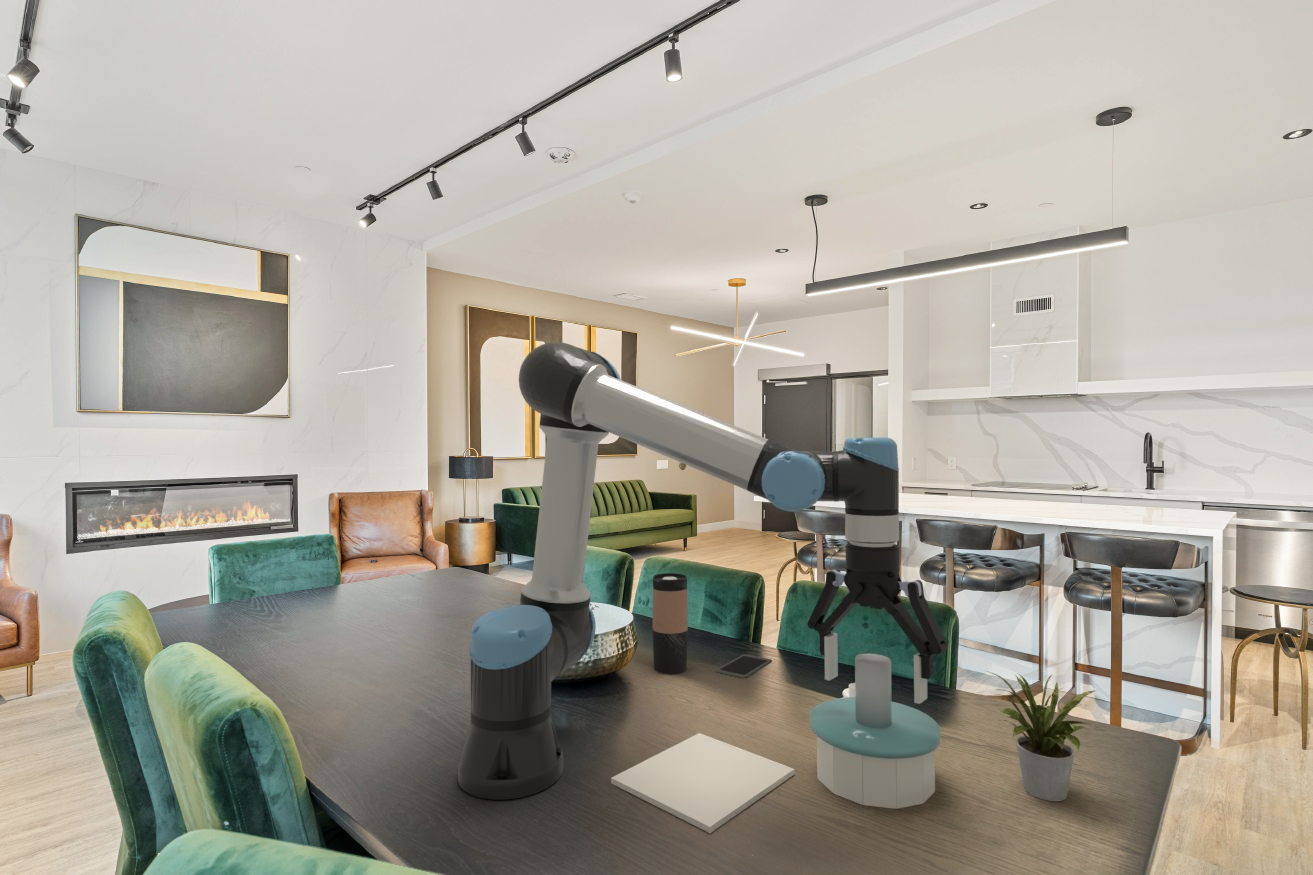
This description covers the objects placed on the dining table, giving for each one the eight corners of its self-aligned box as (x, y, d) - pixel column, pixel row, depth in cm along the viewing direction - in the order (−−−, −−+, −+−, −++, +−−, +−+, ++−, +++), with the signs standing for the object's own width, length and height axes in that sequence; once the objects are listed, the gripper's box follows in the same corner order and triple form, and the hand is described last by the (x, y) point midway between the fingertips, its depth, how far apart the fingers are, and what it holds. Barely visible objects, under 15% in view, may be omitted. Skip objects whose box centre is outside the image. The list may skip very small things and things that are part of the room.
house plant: (962, 788, 93) (961, 672, 93) (996, 755, 103) (995, 650, 103) (1079, 830, 83) (1078, 699, 83) (1105, 789, 93) (1104, 672, 93)
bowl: (905, 821, 85) (905, 766, 85) (796, 779, 96) (796, 730, 96) (950, 775, 97) (949, 727, 97) (848, 742, 107) (848, 699, 108)
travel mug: (688, 663, 147) (688, 573, 147) (687, 675, 139) (686, 580, 139) (654, 662, 147) (654, 572, 148) (650, 674, 140) (650, 579, 140)
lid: (910, 772, 84) (909, 691, 84) (786, 730, 96) (786, 660, 96) (959, 727, 97) (958, 657, 97) (845, 695, 109) (844, 634, 109)
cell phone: (773, 662, 148) (773, 659, 148) (744, 680, 137) (744, 677, 137) (743, 656, 152) (743, 653, 152) (713, 674, 141) (713, 670, 141)
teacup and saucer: (842, 695, 129) (842, 674, 129) (884, 703, 125) (884, 681, 125) (829, 710, 121) (829, 688, 121) (873, 719, 117) (873, 696, 117)
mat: (710, 833, 83) (710, 826, 83) (611, 783, 95) (611, 777, 95) (794, 774, 97) (794, 768, 97) (699, 737, 109) (699, 732, 109)
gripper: (970, 547, 91) (973, 702, 91) (809, 532, 108) (810, 663, 108) (951, 554, 85) (953, 719, 85) (784, 537, 102) (786, 675, 102)
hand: (874, 688), depth 96 cm, fingers open, 13 cm apart
